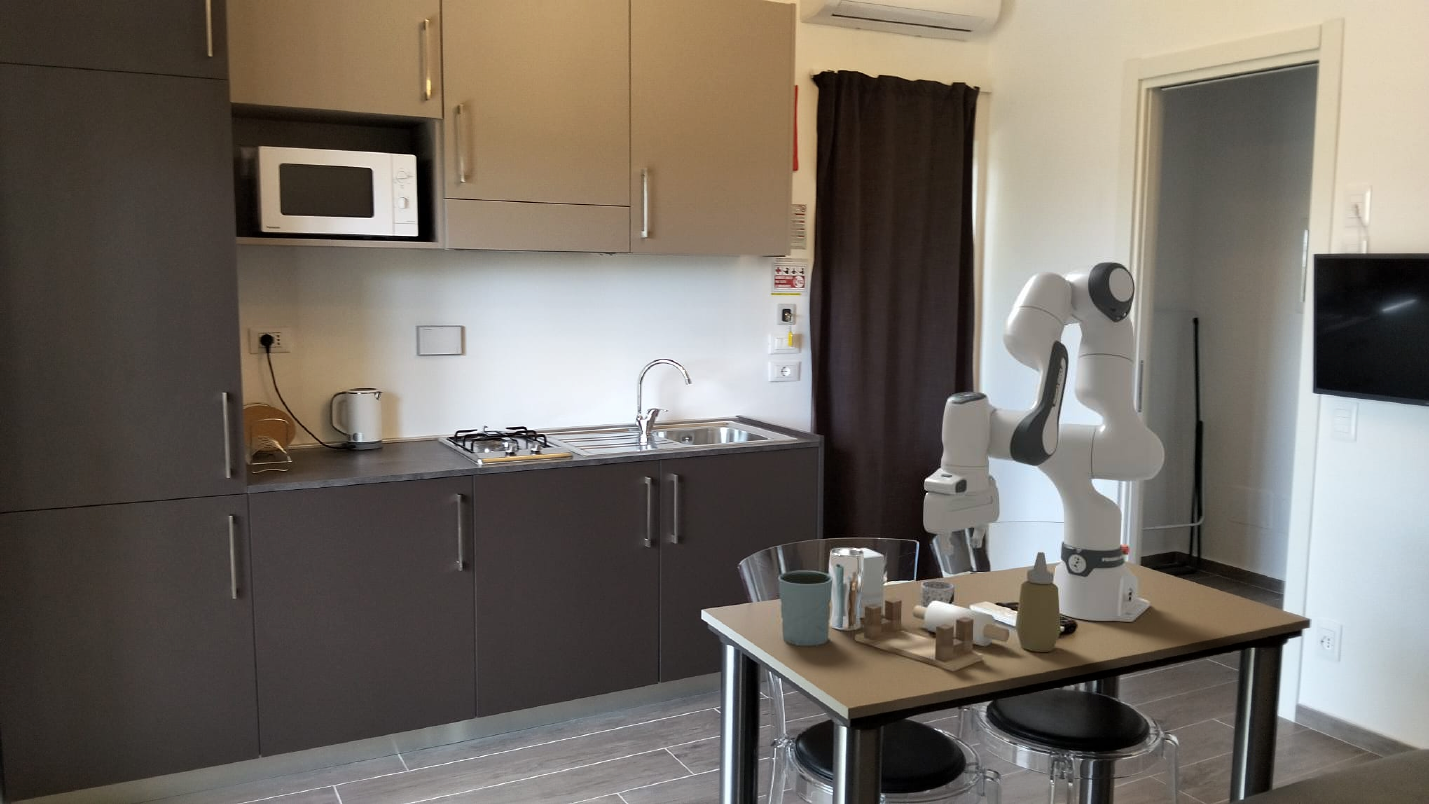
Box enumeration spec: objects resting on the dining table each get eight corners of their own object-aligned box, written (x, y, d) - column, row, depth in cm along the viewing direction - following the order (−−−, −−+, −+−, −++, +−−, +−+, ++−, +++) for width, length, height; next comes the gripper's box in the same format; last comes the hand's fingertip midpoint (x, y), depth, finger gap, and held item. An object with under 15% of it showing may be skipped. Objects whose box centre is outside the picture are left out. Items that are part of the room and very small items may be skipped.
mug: (956, 622, 211) (957, 589, 211) (923, 621, 211) (924, 589, 211) (945, 607, 221) (946, 576, 221) (913, 607, 221) (914, 576, 221)
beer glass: (842, 633, 203) (844, 557, 202) (820, 623, 209) (822, 549, 208) (870, 627, 207) (872, 553, 205) (847, 618, 213) (849, 545, 211)
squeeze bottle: (1025, 637, 202) (1028, 545, 200) (1066, 647, 197) (1070, 552, 195) (1007, 648, 196) (1011, 553, 194) (1049, 658, 190) (1054, 560, 189)
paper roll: (907, 629, 207) (907, 599, 206) (925, 622, 211) (926, 593, 210) (996, 655, 192) (997, 622, 192) (1014, 647, 196) (1015, 616, 196)
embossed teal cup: (842, 641, 199) (843, 579, 197) (800, 651, 193) (802, 586, 192) (807, 627, 207) (808, 567, 206) (766, 636, 201) (767, 574, 200)
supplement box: (864, 606, 222) (866, 547, 221) (883, 615, 215) (885, 555, 214) (834, 609, 219) (835, 550, 218) (852, 619, 212) (853, 558, 211)
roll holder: (854, 640, 199) (855, 604, 198) (884, 630, 205) (885, 595, 205) (953, 671, 183) (954, 631, 182) (982, 659, 189) (983, 621, 188)
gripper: (981, 471, 208) (978, 540, 209) (918, 481, 194) (916, 555, 195) (1009, 475, 203) (1006, 545, 205) (947, 486, 189) (944, 562, 191)
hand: (961, 550), depth 200 cm, fingers open, 8 cm apart
